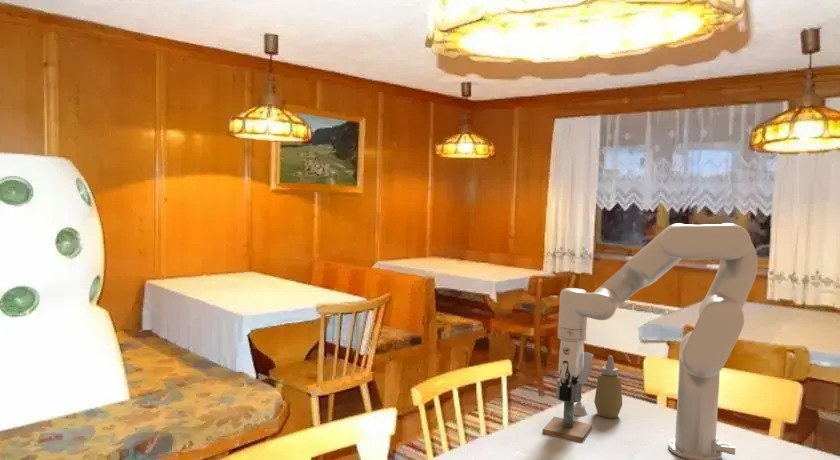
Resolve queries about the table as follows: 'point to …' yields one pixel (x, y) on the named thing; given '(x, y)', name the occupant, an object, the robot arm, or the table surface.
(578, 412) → the chalice
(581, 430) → the post stand
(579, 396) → the ring
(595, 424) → the table surface
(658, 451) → the table surface
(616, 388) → the squeeze bottle
